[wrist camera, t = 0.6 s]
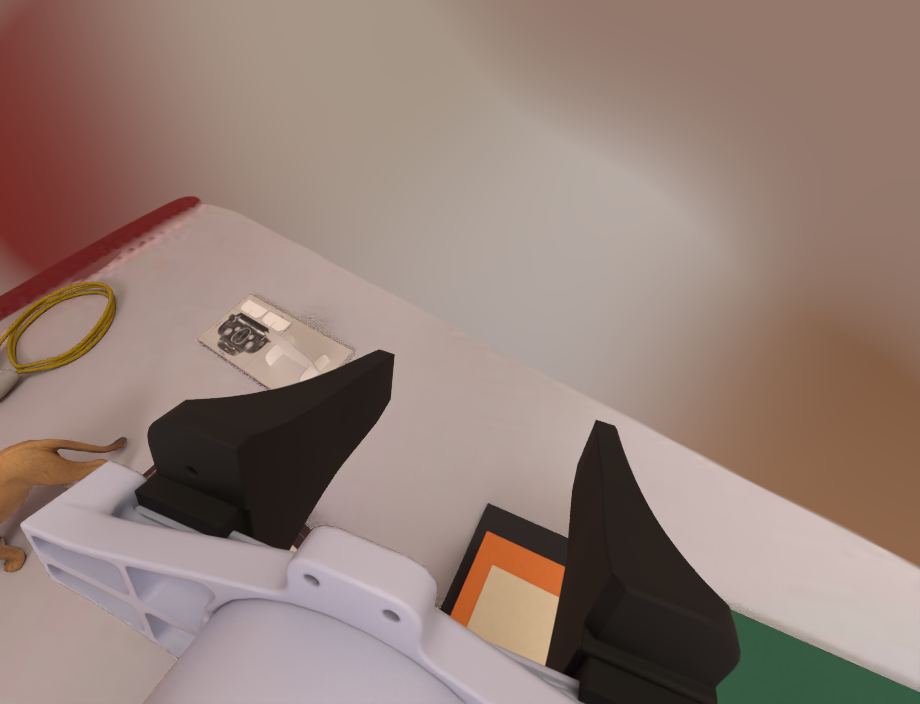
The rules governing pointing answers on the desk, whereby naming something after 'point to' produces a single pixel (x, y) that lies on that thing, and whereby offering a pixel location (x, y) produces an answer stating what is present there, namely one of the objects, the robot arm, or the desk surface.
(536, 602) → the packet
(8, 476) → the lion figurine
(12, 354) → the extension cord
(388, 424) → the desk surface
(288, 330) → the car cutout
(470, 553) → the mat
